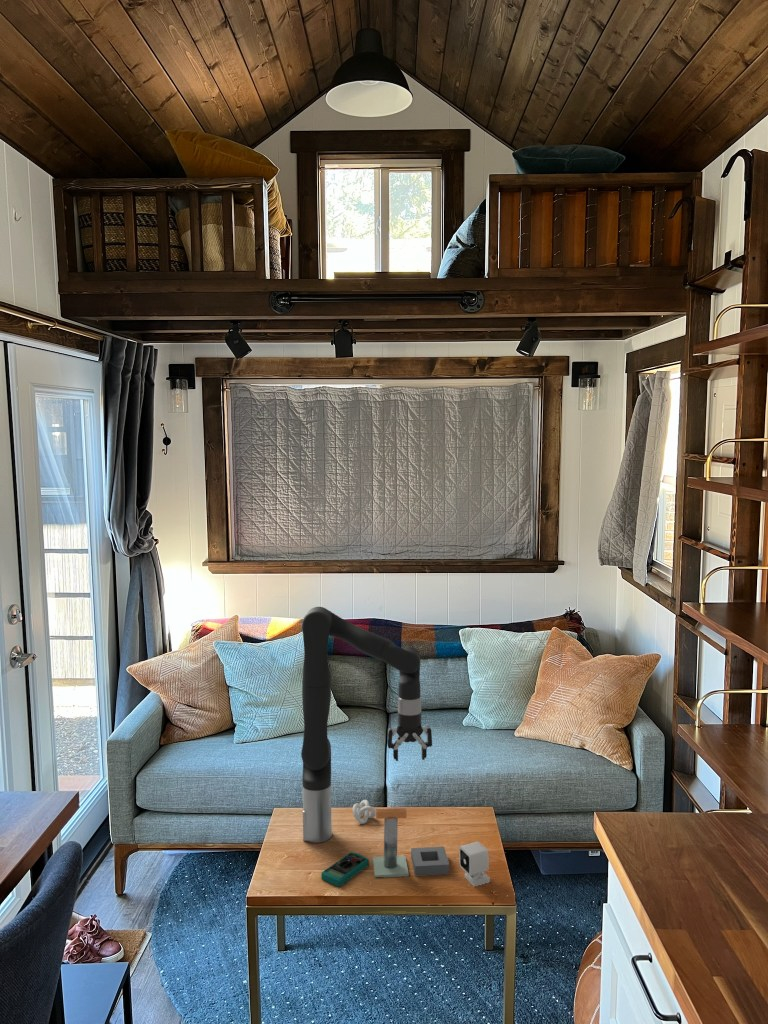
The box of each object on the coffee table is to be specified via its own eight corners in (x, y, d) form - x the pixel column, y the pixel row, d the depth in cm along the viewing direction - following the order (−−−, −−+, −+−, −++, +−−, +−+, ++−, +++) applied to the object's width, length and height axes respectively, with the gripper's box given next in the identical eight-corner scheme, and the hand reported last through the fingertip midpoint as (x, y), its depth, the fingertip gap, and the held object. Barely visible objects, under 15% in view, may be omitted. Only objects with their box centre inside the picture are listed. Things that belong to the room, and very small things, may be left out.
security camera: (459, 878, 219) (459, 845, 219) (479, 872, 222) (479, 839, 222) (470, 889, 214) (470, 855, 213) (491, 883, 217) (491, 849, 216)
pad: (374, 877, 220) (374, 875, 220) (372, 859, 230) (372, 857, 230) (408, 876, 221) (408, 873, 220) (405, 857, 230) (405, 855, 230)
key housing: (415, 876, 221) (415, 866, 220) (411, 857, 231) (411, 848, 230) (449, 874, 221) (449, 864, 221) (443, 855, 231) (443, 846, 231)
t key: (375, 869, 223) (376, 813, 221) (374, 861, 227) (375, 807, 225) (405, 867, 224) (406, 813, 222) (404, 860, 228) (405, 806, 226)
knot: (363, 828, 249) (363, 811, 248) (346, 821, 254) (345, 804, 254) (378, 820, 255) (378, 803, 254) (360, 812, 260) (360, 796, 259)
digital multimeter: (370, 866, 227) (370, 856, 227) (339, 889, 215) (339, 879, 215) (351, 858, 231) (351, 849, 231) (320, 880, 219) (320, 871, 219)
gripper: (430, 705, 244) (430, 754, 245) (386, 707, 243) (386, 755, 244) (433, 713, 236) (433, 763, 237) (388, 715, 235) (388, 765, 236)
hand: (409, 759), depth 241 cm, fingers open, 8 cm apart
